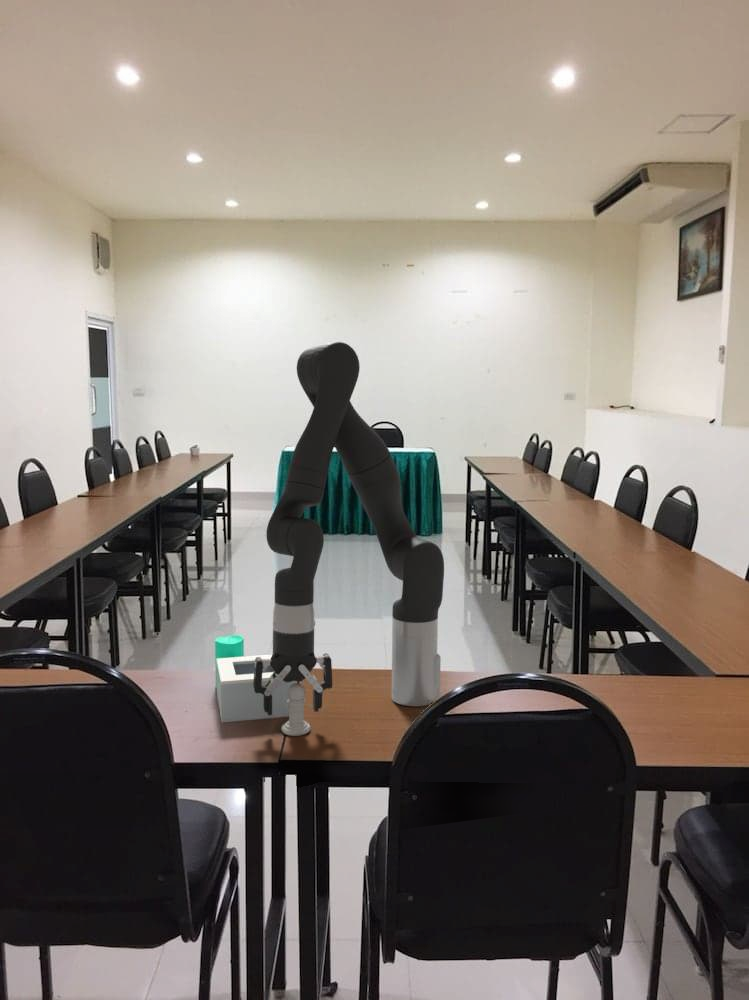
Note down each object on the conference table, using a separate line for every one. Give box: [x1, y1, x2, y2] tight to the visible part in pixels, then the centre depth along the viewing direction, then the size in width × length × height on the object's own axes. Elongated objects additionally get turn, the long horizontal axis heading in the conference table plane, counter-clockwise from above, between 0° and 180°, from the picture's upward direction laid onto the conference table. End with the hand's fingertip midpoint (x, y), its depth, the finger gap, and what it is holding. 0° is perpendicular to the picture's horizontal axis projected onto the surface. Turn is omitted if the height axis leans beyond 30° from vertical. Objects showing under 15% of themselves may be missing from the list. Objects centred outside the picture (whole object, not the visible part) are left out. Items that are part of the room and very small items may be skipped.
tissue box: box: [216, 653, 296, 723], centre depth 154 cm, size 14×14×8 cm
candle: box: [214, 631, 245, 689], centre depth 164 cm, size 6×6×12 cm
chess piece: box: [280, 682, 311, 737], centre depth 142 cm, size 5×5×9 cm
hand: (292, 712), depth 142 cm, fingers open, 8 cm apart
